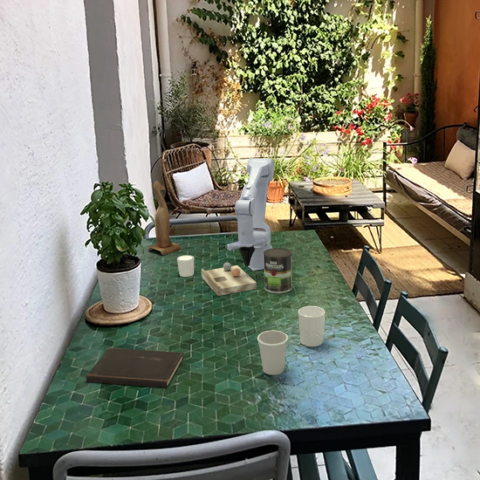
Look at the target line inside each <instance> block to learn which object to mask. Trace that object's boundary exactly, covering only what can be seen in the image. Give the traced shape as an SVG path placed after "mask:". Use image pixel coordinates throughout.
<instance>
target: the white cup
mask: <svg viewBox="0 0 480 480" xmlns="http://www.w3.org/2000/svg"><path fill="white" fill-rule="evenodd" d="M297 313H298V327H299V329H298V330H299V341H300V344H302V345H303V346H306V347H315V348H316V347H319V346H321V345H322V344H323V343H324V332H325V318H326V311H325V309H324V308H322V307H319V306H316V305H306V306H303V307H301V308H299V309H298V311H297Z"/></svg>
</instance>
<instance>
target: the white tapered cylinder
mask: <svg viewBox="0 0 480 480" xmlns="http://www.w3.org/2000/svg"><path fill="white" fill-rule="evenodd" d="M176 261H177V266H178V267H177V268H178V272H179V276H180V277H182V278H188V277H189V278H190V277H192V276H193V275H195V274H194V273H195V256H193V255H190V254H187V255H180V256H178V257H177V258H176Z"/></svg>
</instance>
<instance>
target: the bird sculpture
mask: <svg viewBox="0 0 480 480" xmlns="http://www.w3.org/2000/svg"><path fill="white" fill-rule="evenodd" d="M159 181H160V180H159ZM159 181H158V180H155V182H154V184H153V187H152V188H153V189H154V192H155V195H156V198H157V202H158V207H157V209H156V211H155V213H154V232H155V241H156V244H155V245H154V244H153V245H152V246H151V245H150V246H148V247H147V251H148V250H149V251H152V250H156V251H159V252H160V254H161V255H162V256H165V255H168V254H172V253H175V252H178V251H181V249H182V247H181V245H180V244H178V243H175V242H172V240H171V237H170V232H171V224H170V223H171V221H170V214H169V209H168V206H167V202H166V200H165V198H164V197H163V194H162V192H166V188H165V185H163V184H162V183H161V182H159ZM151 249H152V250H151Z"/></svg>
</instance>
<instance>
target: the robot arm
mask: <svg viewBox="0 0 480 480" xmlns="http://www.w3.org/2000/svg"><path fill="white" fill-rule="evenodd" d="M246 169H247V172H248V175H249V176H248V180H247V184H245V185H244V186H243V189H242V191H241V195H240V198H239V199H238V200H236V201H235V204H234V212H235V217H236V221H237V233H238V237H237V238H238V241H235V242H231V243H227V244H226V245H227V246H226V248H227V250H228V251H232V250H238V251H239V253H240V255H241V257H242V260H243V264H244V266H246V267H248V268H249V269H250V270H251V271H254V272H255V271H259V270H260V271H261V270H264V254H263V253H264V251H265V250H268V249H271V248H273V246H272V245H271V244H270V243H271V241H272V233H271V227H270V226H269V225H268V223H266V221H265V219H266V212H267V211H266V210H267V209H266V208H267V200H268V188H269V183H270V182H271V181H273V179H274V174H275V173H274V172H275V162H274V160H273V158H272V157H271V158H255V157H254V158H253V157H250V158H248V160H247V163H246Z"/></svg>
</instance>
